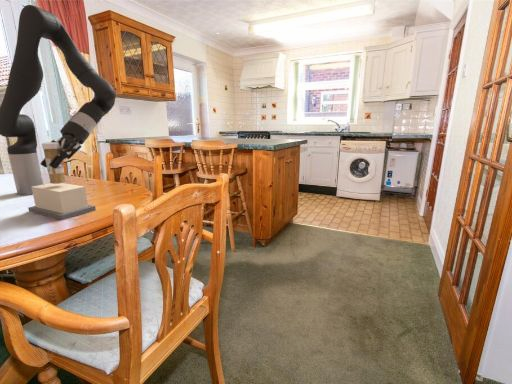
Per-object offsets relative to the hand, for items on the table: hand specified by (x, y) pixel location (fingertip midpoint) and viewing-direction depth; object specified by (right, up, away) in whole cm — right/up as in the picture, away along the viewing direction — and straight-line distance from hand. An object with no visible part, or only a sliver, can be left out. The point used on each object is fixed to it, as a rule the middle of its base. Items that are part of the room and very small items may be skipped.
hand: (48, 166), depth 85 cm
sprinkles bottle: (+1, -5, +3) cm, 6 cm away
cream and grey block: (+1, -15, +6) cm, 16 cm away
